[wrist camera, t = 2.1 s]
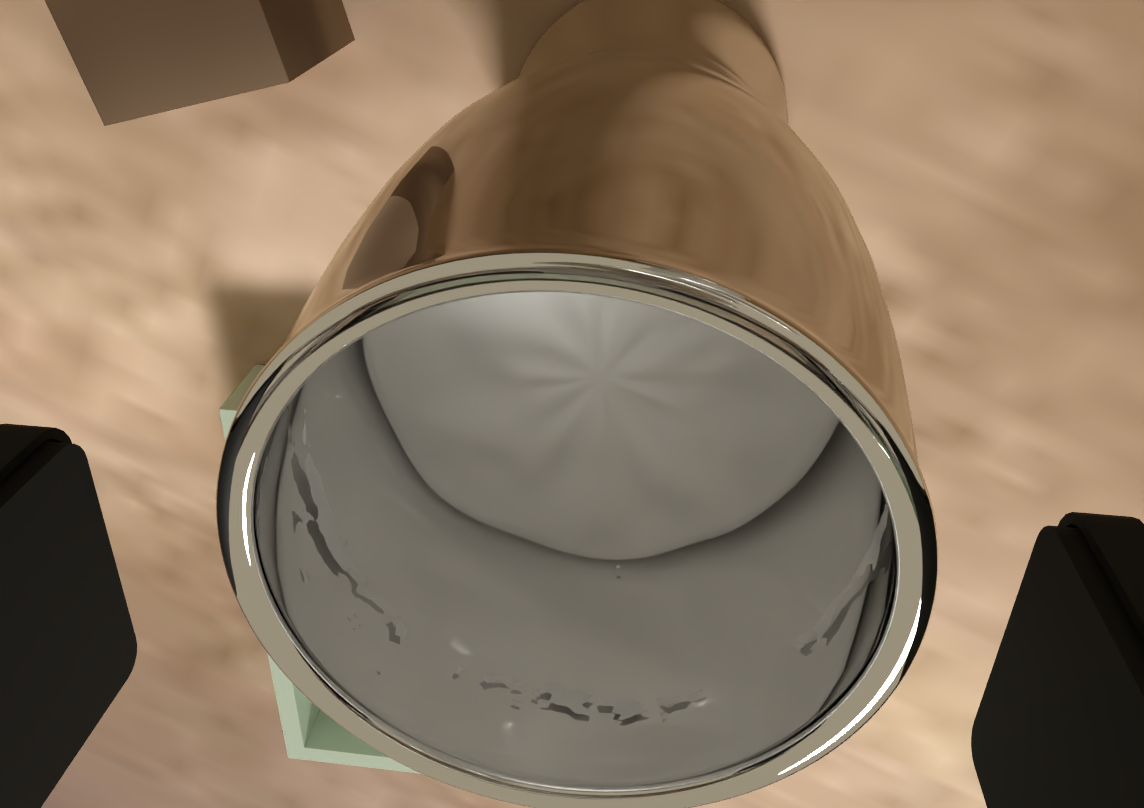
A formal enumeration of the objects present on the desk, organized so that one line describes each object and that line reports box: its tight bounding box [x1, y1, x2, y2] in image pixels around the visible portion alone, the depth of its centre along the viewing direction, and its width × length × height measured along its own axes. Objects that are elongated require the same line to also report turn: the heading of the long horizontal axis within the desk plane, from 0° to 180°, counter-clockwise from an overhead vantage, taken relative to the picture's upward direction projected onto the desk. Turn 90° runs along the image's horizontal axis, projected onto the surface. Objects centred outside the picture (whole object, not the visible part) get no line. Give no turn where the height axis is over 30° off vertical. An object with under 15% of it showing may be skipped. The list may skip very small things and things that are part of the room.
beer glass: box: [216, 0, 938, 808], centre depth 15 cm, size 7×7×15 cm
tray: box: [219, 364, 422, 774], centre depth 28 cm, size 13×11×2 cm
